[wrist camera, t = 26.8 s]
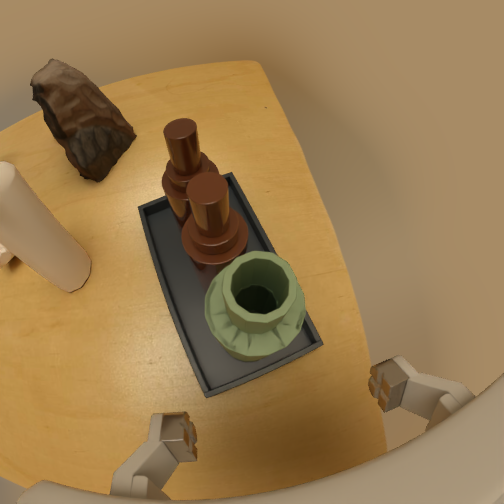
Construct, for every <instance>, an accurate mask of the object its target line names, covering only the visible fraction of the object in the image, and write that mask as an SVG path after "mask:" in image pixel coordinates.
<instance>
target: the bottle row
mask: <svg viewBox="0 0 504 504" xmlns="http://www.w3.org/2000/svg"><path fill="white" fill-rule="evenodd" d="M163 133H164V137H165V141H166V144H167V148H168V152H169V156H170V160H169V161H168V163H167V166H166V171H165V172H164V174H163V177H162V187H163V190H164V193H165V195H166V198H167V201H168V203H169V206H170V209H171V211H172V214H173V217H174V219H175V222H176V224H177V227H178V229H179V232H180V234H181V239H182V244H183V247H184V249H185V252H186V254H187V256H188V259H189V261H190V263H191V265H192V268H193V270H194V272H195V275H196V277H197V279H198V281H199V284H200V286H201V288H202V290H203V292H204V294H205V296H206V293H207V291H208V289H209V287H210V284H211V282H212V280H213V279H214V278H215V277H216V276H217V275H218V274H219V273H220V272H221V271H222V270H223V269H224V268H225V267H227V266H228V265H230V264H231V263H232V262H233V261H234V259H235V258H237V257H239V256H241V255H244V254H246V253H247V248H248V228H247V224H246V222H245V220H244V219H243V217H242V216H241V215H240V214H239V213H238V212H236V211H235V210H233V209H232V208H231V207H230V206H229V194H228V183H227V181H226V179H225V178H224V177H223V176H222V175H220V174H219V171H218V168H217V167H216V165H215V164H214V163H213V162H212V161H210V160H209V159H208V157H207V156H206V155H205V154H204V153H202V152H200V146H199V139H198V132H197V125H196V123H195V122H194V121H193V120H191V119H187V118H181V119H176V120H174V121H171V122H170V123H168V124H167V125H166V126H165V128H164V131H163Z"/></svg>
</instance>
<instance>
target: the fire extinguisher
mask: <svg viewBox="0 0 504 504" xmlns="http://www.w3.org/2000/svg"><path fill="white" fill-rule="evenodd" d="M0 243H1V244H2V245H3V246H4V247H5V248H7V249H8V250H9V251H10V252H12V253H13V254H14V255H15V256H16V257H18V258H19V259H20V260H21V261H23V262H24V263H25V264H27V265H28V266H29V267H31V268H32V269H33V270H35V271H36V272H37V273H39V274H40V275H41V276H43V277H44V278H45V279H47V280H48V281H50V282H51V283H53V284H54V285H55V286H57V287H58V288H60V289H62V290H65V291H67V292H72V291H74V290H76V289H78V288H81V287H82V285H83V284H84V282H85V281H86V279H87V278H88V277H89V275H90V267H91V260H90V258H89V256H88V254H87V252H86V251H85V250H84V249H83V248H82V247H81V246H80V245H79V244H78V243H77V241H76V240H75V239H74V238H73V237H72V236H71V235H70V234H69V233H68V232H67V231H66V229H65V228H64V227H63V226H62V225H61V224H60V223H59V222H58V220H57V219H56V218H55V217H54V216H53V215H52V213H51V212H50V211H49V210H48V209H47V208H46V206H45V205H44V204H43V203H42V201H41V200H40V199H39V198H38V196H37V195H36V194H35V193H34V191H33V190H32V189H31V188H30V186H29V185H28V184H27V182H26V181H25V180H24V178H23V177H22V176H21V174H20V173H19V172H18V170H17V169H16V167H15V166H14V165H13V164H10V163H8V162H5V161H0Z"/></svg>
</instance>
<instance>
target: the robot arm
mask: <svg viewBox="0 0 504 504" xmlns="http://www.w3.org/2000/svg"><path fill="white" fill-rule="evenodd" d="M370 374H371V375H372V376H371V377H370V379H369V382H368V386H369V390H370V393H371V394H372V396H373V397H374V398H377V399H378V405H379V406H380V407H381V409H382V410H383V412H384V413H385V412H387V411H389V410H392V409H394V408H396V407H398V406H400V407H402V408H404V409H406V410H408V411H410V412H412V413H414V414H417V415H419V416H421V417H423V418H426V419H428V420H430V421H429V423H428V425H427V427H426V430H425V431H426V432H424V433H423V434H421V435H419V436H417V437H416V438H414V439H412V440H410V441H408V442H407V443H405V444H403V445H401V446H399V447H397V448H395V449H393V450H391V451H389V452H387V453H385V454H383V455H380V456H378V457H376V458H374V459H372V460H369V461H367V462H365V463H362V464H360V465H357V466H355V467H352V468H350V469H347V470H344V471H341V472H339V473H336V474H333V475H330V476H327V477H324V478H320V479H317V480H314V481H310V482H307V483H303V484H299V485H296V486H292V487H287V488H283V489H279V490H274V491H269V492H263V493H258V494H252V495H245V496H237V497H229V498H218V499H204V500H171V499H170V498H169V497H168V496H167V495H166V494H165V493H164V492H162V491H161V489H162V488H163V487H164V485H165V484H166V482H167V481H168V479H169V478H170V476H171V475H172V473H173V472H174V470H175V469H176V467H177V466H178V464H179V462H192V461H197V448H196V446H195V443H196V442H197V434H196V429H195V426H194V424H193V422H191V421H189V418H190V416H189V415H188V413H187V412H173V413H155V414H153V415H152V416H151V422H150V428H149V434H148V441H147V442H144V443H143V444H142V445H141V446H140V447H139V448H138V449H137V450H136V451H135V452H134V453H133V454H132V455H131V456H130V457H129V458H128V459H127V460H126V461H125V462H124V463H123V464H122V465H121V466H120V467H119V468H118V469H117V470H116V471H115V472H114V474H113V480H112V485H111V491H110V495H107V494H102V493H96V492H91V491H86V490H82V489H77V488H73V487H69V486H66V485H62V484H59V483H55V482H52V481H48V480H42V481H40V482H38V483H36V484H34V485H33V486H31V487H30V488H28V489H27V490H26V491H24V492H23V493H22V494H21V495H20V497H19V499H18V501H17V503H16V504H504V373H503V374H502V375H501V376H500V377H499V378H498V379H497V380H495V381H494V382H493V383H492V384H491V385H490V386H488V387H487V388H486V389H485V390H484V391H483V392H481V393H480V394H479V395H478V396H476V397H475V396H474V395H473V394H472V393H471V392H470V391H469V390H468V389H467V388H466V387H465V386H464V385H463V384H462V383H460V382H456V381H452V380H448V379H444V378H440V377H436V376H433V375H428V374H425V373H418V372H417V371H416V370H415V369H414V368H413V367H412V366H411V365H410V364H409V363H408V362H407V361H406V360H405V359H404V358H403V357H402V356H401V355H397V356H395V357H393V358H391V359H388V360H386V361H383V362H381V363H379V364H376V365H374V366H372V367H371V368H370Z"/></svg>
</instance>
